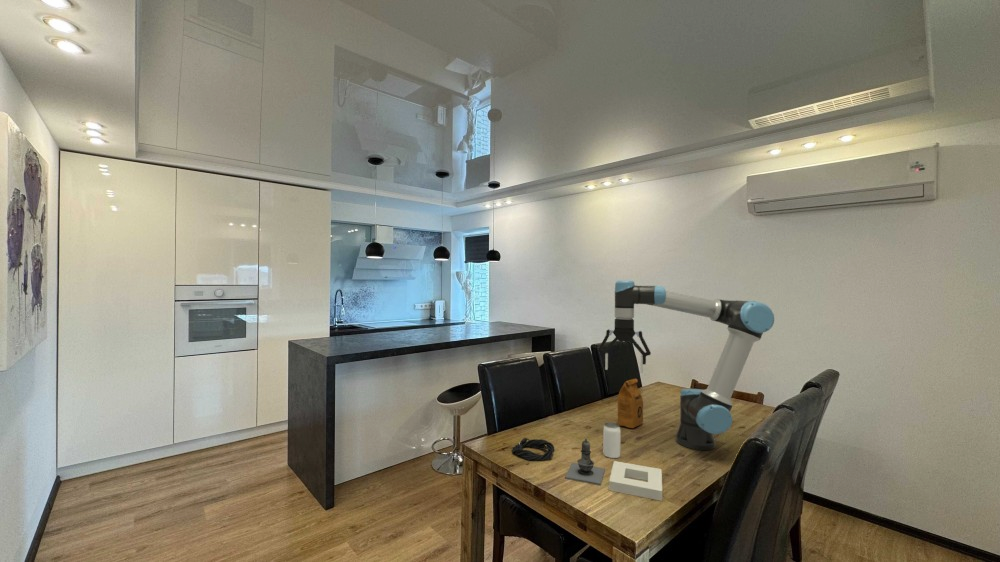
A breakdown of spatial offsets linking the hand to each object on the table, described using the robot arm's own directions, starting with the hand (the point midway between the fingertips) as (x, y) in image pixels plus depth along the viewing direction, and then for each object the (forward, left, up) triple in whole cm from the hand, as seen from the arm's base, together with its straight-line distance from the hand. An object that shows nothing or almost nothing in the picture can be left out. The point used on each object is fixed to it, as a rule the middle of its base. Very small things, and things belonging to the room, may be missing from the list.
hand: (623, 370), depth 157 cm
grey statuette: (+11, +25, -32) cm, 42 cm away
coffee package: (-1, -34, -33) cm, 47 cm away
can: (+4, +5, -33) cm, 34 cm away
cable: (+33, +16, -33) cm, 50 cm away
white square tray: (-6, +25, -33) cm, 42 cm away
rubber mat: (+11, +25, -33) cm, 43 cm away
